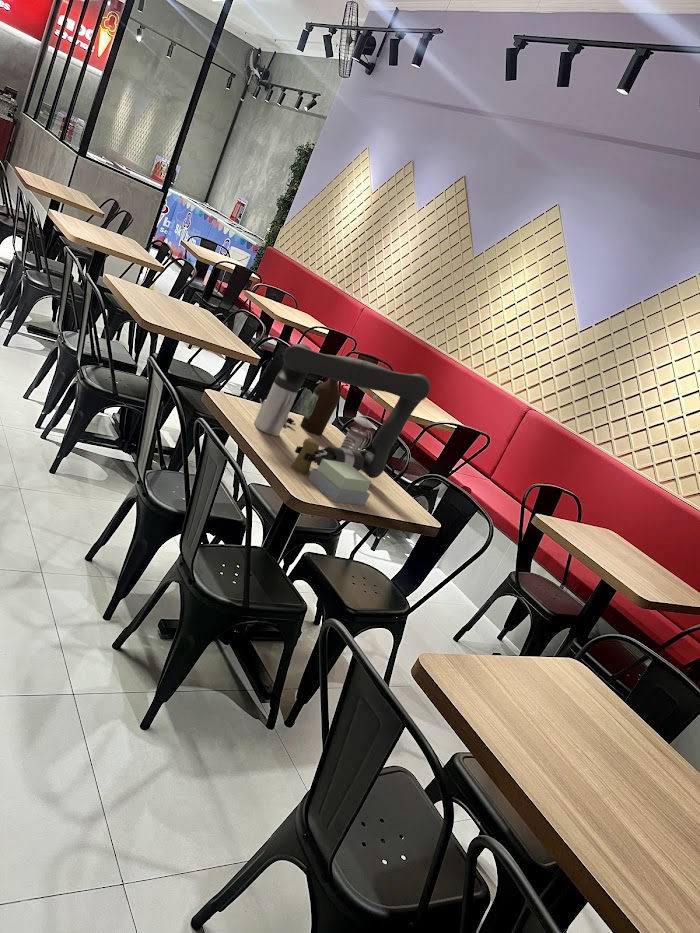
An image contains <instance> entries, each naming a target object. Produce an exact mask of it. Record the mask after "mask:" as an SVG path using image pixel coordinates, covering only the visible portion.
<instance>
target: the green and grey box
mask: <svg viewBox="0 0 700 933" xmlns="http://www.w3.org/2000/svg"><path fill="white" fill-rule="evenodd" d="M307 480H308V481H310V482H311V483H312V484H313V485H314V486H315V487H316V488H317V489H318V490H319V491H321V492H322V493H323V494H324V495H325V496H326V497H327V498H329V499H330V501H332V502H334V503H337V504H349V505H350V504H351V505H360V506H365V505H366V504H367V502H368V499H369V497H370V495H371V494H370V493H369V492H368V490H369V487H370V486H371V483H372V480H370V479H369V478H368V477H366V476H365V475H364V474H363V473H361V472H360V470H359V471H358V470H356V469H355V468H354V467H353V466H351V465H350V464H349V463H344V462H338V461H331V460H325V459H322V461H321V463H320V465H319V466H318V468H312V470H311V471H310V474H309V475H308V478H307Z"/></svg>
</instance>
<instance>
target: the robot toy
mask: <svg viewBox="0 0 700 933" xmlns="http://www.w3.org/2000/svg"><path fill="white" fill-rule="evenodd" d="M259 401H260V407H261V406H262V404H263V401H262V399H261V398H259ZM286 423H288V424H289V425H292V426H296V425H297V424H296V422H295V420H294V419H293V418H290V417H289V415H288V416H287V418H286V421H285V423H284V425H286Z"/></svg>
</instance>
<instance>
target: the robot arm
mask: <svg viewBox="0 0 700 933" xmlns="http://www.w3.org/2000/svg"><path fill="white" fill-rule="evenodd" d="M282 360H283V365H282V367H281V369H280V370H279V371H278V373H277V375H276V376H275V379H274V381H273V383H272V385H271V388H270V390H269V393H268V394H267V397H266V399H264V400H263V401H262V402H263V404H262V406H261V405H260V409H259V411H258V412H257V416H256V418H255V420H254V423H253V424H254V425H255V428H257V430H259V431H261V432H263V433H265V434H267V435H270V436H273V437H278V436H280V434H281V432H282V430H283V426H284V425H285V424H286V423H285V421H286V418H287V416H288V417H289V414H290V411H291V409H292V407H293V405H294V403H295V401H296V398H297V395H298V393H299V391H300V389H301V388H302V386H303V385H304V383H305V381H306V379H307V377H308V374H312V375H317V376H321V377H325V378H328V379H333V380H336V381H338V382H340V383H343V384H346V385H349V386H353V387H357V388H362V389H365V390H366V389H368V390H372V391H379V392H385V393H389V394H391V395H395V396H397V397H399V398H398V400H397V402H396V403H395V406H393V409H392V410H391V411H390V413H389V414H388V416H387V418H386V419H385V420H384V422H383V423H382V424H381V426H380V427H379V429H378V430H377V433H375V436H374V437H373V438H372V440H371V446H372V447H373V449H374V453H373V452H371V451H369V450H365V449H362V450H361V451H356V452H355V451H350V450H346V449H343V448H339V447H336V446H331V445H329V446H326V447H325V448H320V447H319V449H318V450H317V451H316V452H315V453H314V454H310V453H305V455H304V457H303V459H304V460H308V461H312V463H314V464H316V465H317V466H318V467H319V465H320V463H321V461H322V459H325V460H331V461H338V462H344V463H349V464H350V465H351V466H353V467H354V468H355V469H356V470H358V471H359V472H360V471H361V472H363V473H365V475H366V476H367V477H369V478H371V479H376V478H378V477H379V476H381V474H382V473H383V472H384V471H385V468H386V465H387V461H388V459H389V456H390V452H391V450H392V448H393V447H394V446H395V443H396V441H397V440H398V438H399V437H400V435H401V433H402V431H403V429H404V427H405V426H406V423H407V422H408V419H409V418H410V416H411V415H412V413H413V412H414V410H415V409H416V408H417V407H418V405H419V404H420V403H421V402H422V401H423V400H425V399H426V398H427V397H428V395H429V394H430V391H431V383H430V380H429V378H428V377H427V376H426V375H424V374H422V373H412V374H410V373H403V372H398V371H395V370H394V371H393V370H389V369H387V368H385V367H383V366H381V365H378V364H376V363H373V362H370V361H367V360H363V359H360V358H355V357H350V356H346V355H345V356H344V355H333V354H325V353H323V352H322V353H321V352H317V351H315V350H313V349H312V348H311V347H310V346H309V345H307V344H304V343H297V344H293V345H292V344H291V345H290V346H288V347H287V348H286V349H285V351H284V352H283V355H282ZM286 422H287V421H286ZM284 423H285V424H284ZM302 448H303V446H301V445H300V446H296V448H295V450H294V452H295V453H296V454H299V453H300V451H301V450H302Z"/></svg>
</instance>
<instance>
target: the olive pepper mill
mask: <svg viewBox="0 0 700 933" xmlns="http://www.w3.org/2000/svg"><path fill="white" fill-rule="evenodd" d="M302 447H303V448H302V450H301V451H300V453H297V456H296V458H295V459H294V461H293V462H292V464H291V465H290V468H291V469H292V470H293V471H294V472H295V473H298V474H300V475H303V476H309V472H310V468H311V465H312V463H313V462H312V461H308V460H304V459H303V457H304V455H305V453H310V454H314V453H315V452H316V451H317V450H318V449H319V448H320V443H319V441H317V440H316V439H314V438H309V437H308V438H305V439H304V440H303V443H302Z"/></svg>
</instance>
